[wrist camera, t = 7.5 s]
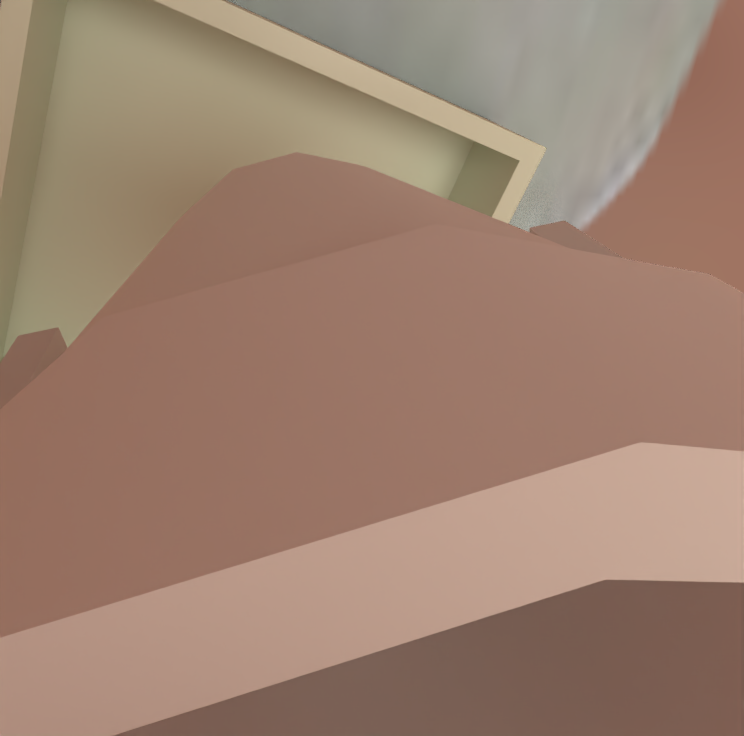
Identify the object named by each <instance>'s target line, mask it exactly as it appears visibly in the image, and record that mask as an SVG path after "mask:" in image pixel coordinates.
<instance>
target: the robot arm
mask: <svg viewBox="0 0 744 736" xmlns="http://www.w3.org/2000/svg"><path fill="white" fill-rule="evenodd" d="M530 233H532V234H535V235H537V236H540V237H542V238H545V239H547V240H550V241H552V242H555V243H557V244H560V245H562V246H565V247H567V248H570V249H575V250H581V251H586V252H592V253H597V254H603V255H608V256H613V257H619V258H622V257H621V256H619V255H617V254H615V253H614V252H613V251H611V250H610V249H608V248H607V247H605V246H603V245H602V244H600V243H599V242H597V241H596V240H594V239H593V238H591V237H589V236H588V235H586V234H585V233H583V232H582V231H580V230H579V229H577V228H575V227H574V226H572V225H571V224H569V223H568V222H566V221H560V222H555V223H551V224H546V225H541V226H536V227H532V228H530ZM67 348H68V347H67V345H66V343H65V341H64V338H63V336H62V334H61V332H60V330H59V327H57V328H52V329H47V330H42V331H38V332H33V333H28V334H23V335H19V336H17V338H16V339H15V341H14V343H13V344H12V346H11V347H10V349H9V350H8V352H7V353H6V355H5V357H4V358H3V360H2V361H1V363H0V409H1V408H2V407H3V406H5V405H6V404H7V403H8V402H9V401H10V400H11V399H12V398H14V397H15V396H16V395H17V394H18V393H19V392H20V391H21V390H22V389H24V388H25V387H26V386H27V385H28V384H29V383H30V382H31V381H32V380H34V379H35V378H36V377H37V376H38V375H39V374H40V373H41V372H43V371H44V370H45V369H46V368H47V367H48V366H49V365H50V364H51V363H53V362H54V361H55V360H56V359H57V358H58V357H59V356H60V355H62V354H63V353H64V352H65V350H66V349H67Z"/></svg>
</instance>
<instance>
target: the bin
mask: <svg viewBox="0 0 744 736" xmlns="http://www.w3.org/2000/svg"><path fill="white" fill-rule="evenodd" d="M546 149H547V148H545V147H543V146H541V145H539V144H537V143H535V142H533V141H531V140H529V139H527V138H525V137H523V136H521V135H519V134H517V133H515V132H513V131H510V130H508V129H506V128H504V127H502V126H500V125H498V124H496V123H494V122H492V121H490V120H488V119H486V118H483V117H481V116H479V115H477V114H475V113H472V112H470V111H468V110H466V109H464V108H461V107H459V106H457V105H455V104H453V103H450V102H448V101H446V100H444V99H442V98H439V97H437V96H435V95H433V94H431V93H429V92H426V91H424V90H422V89H420V88H418V87H415V86H413V85H411V84H409V83H407V82H404V81H402V80H400V79H398V78H396V77H393V76H391V75H389V74H387V73H385V72H383V71H380V70H378V69H376V68H374V67H372V66H369V65H367V64H365V63H363V62H361V61H358V60H356V59H354V58H352V57H350V56H347V55H345V54H343V53H341V52H339V51H336V50H334V49H332V48H330V47H328V46H326V45H323V44H321V43H319V42H317V41H315V40H312V39H310V38H308V37H306V36H304V35H301V34H299V33H297V32H295V31H293V30H290V29H288V28H286V27H284V26H282V25H279V24H277V23H275V22H273V21H271V20H269V19H266V18H264V17H262V16H260V15H258V14H255V13H253V12H251V11H249V10H247V9H244V8H242V7H240V6H238V5H236V4H233V3H231V2H229V1H227V0H2V2H1V9H0V363H1V361H2V360H3V358H4V357H5V355H6V353H7V352H8V350H9V349H10V347H11V346H12V344H13V343H14V341H15V339H16V338H17V336H19V335H23V334H28V333H33V332H38V331H42V330H47V329H52V328H57V327H59V330H60V332H61V334H62V336H63V338H64V341H65V343H66V345H67V347H69V346H70V345H71V344H72V342H73V341H74V340H75V339H76V338H77V337H78V335H79V334H80V333H81V332H82V331H83V330H84V328H85V327H86V326H87V325H88V324H89V323H90V322H91V320H92V319H93V318H94V317H95V316H96V315H97V313H98V312H99V311H100V310H101V309H102V308H103V306H104V305H105V304H106V303H107V302H108V301H109V300H110V298H111V297H112V296H113V295H114V294H115V293H116V291H117V290H118V289H119V288H120V287H121V286H122V284H123V283H124V282H125V281H126V280H127V279H128V278H129V276H130V275H131V274H132V273H133V272H134V271H135V269H136V268H137V267H138V266H139V265H140V264H141V262H142V261H143V260H144V259H145V258H146V257H147V256H148V254H149V253H150V252H151V251H152V250H153V249H154V247H155V246H156V245H157V244H158V243H159V242H160V240H161V239H162V238H163V237H164V236H165V235H166V234H167V232H168V231H169V230H170V229H171V228H172V227H173V225H174V224H175V223H176V222H177V221H178V220H179V218H180V217H182V216H183V215H184V214H185V213H186V212H187V211H188V210H189V209H190V208H191V207H192V206H193V205H194V204H195V203H197V202H198V201H199V200H200V199H201V198H202V197H203V196H204V195H205V194H206V193H208V192H209V191H210V190H211V189H212V188H213V187H214V186H215V185H216V184H218V183H219V182H220V181H221V180H222V179H223V178H224V177H225V176H226V175H227V174H229V173H230V172H231V171H232V170H233V169H236V168H239V167H243V166H247V165H251V164H254V163H258V162H262V161H265V160H269V159H273V158H276V157H280V156H284V155H288V154H291V153H295V152H299V153H304V154H309V155H314V156H318V157H323V158H328V159H333V160H338V161H343V162H348V163H353V164H358V165H360V166H365V167H368V168H371V169H373V170H376V171H378V172H380V173H383V174H385V175H388V176H390V177H393V178H395V179H398V180H400V181H403V182H405V183H408V184H410V185H413V186H415V187H418V188H420V189H423V190H425V191H428V192H430V193H433V194H435V195H438V196H440V197H443V198H445V199H448V200H450V201H453V202H455V203H458V204H460V205H463V206H465V207H468V208H470V209H473V210H475V211H478V212H480V213H483V214H485V215H488V216H490V217H493V218H495V219H498V220H500V221H503V222H505V223H508V224H509V222H510V220H511V218H512V216H513V214H514V212H515V210H516V208H517V206H518V204H519V202H520V200H521V198H522V196H523V194H524V192H525V190H526V188H527V186H528V184H529V182H530V180H531V178H532V177H533V175H534V173H535V171H536V169H537V167H538V165H539V163H540V161H541V159H542V157H543V155H544V153H545V151H546Z"/></svg>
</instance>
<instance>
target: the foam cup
mask: <svg viewBox="0 0 744 736" xmlns="http://www.w3.org/2000/svg"><path fill="white" fill-rule="evenodd" d="M0 736H744V293H743V292H741V291H739V290H738V289H736V288H734V287H732V286H730V285H729V284H727V283H725V282H723V281H721V280H720V279H718V278H716V277H714V276H712V275H711V274H706V273H700V272H695V271H690V270H685V269H679V268H674V267H668V266H663V265H657V264H652V263H646V262H640V261H635V260H630V259H624V258H619V257H613V256H608V255H603V254H597V253H592V252H586V251H581V250H575V249H570V248H567V247H565V246H562V245H560V244H557V243H555V242H552V241H550V240H547V239H545V238H542V237H540V236H537V235H535V234H532V233H530V232H527V231H525V230H522V229H520V228H517V227H515V226H512V225H510V224H508V223H505V222H503V221H500V220H498V219H495V218H493V217H490V216H488V215H485V214H483V213H480V212H478V211H475V210H473V209H470V208H468V207H465V206H463V205H460V204H458V203H455V202H453V201H450V200H448V199H445V198H443V197H440V196H438V195H435V194H433V193H430V192H428V191H425V190H423V189H420V188H418V187H415V186H413V185H410V184H408V183H405V182H403V181H400V180H398V179H395V178H393V177H390V176H388V175H385V174H383V173H380V172H378V171H376V170H373V169H371V168H368V167H365V166H360V165H358V164H353V163H348V162H343V161H338V160H333V159H328V158H323V157H318V156H314V155H309V154H304V153H299V152H295V153H291V154H288V155H284V156H280V157H276V158H273V159H269V160H265V161H262V162H258V163H254V164H251V165H247V166H243V167H239V168H236V169H233V170H232V171H231V172H230V173H229V174H227V175H226V176H225V177H224V178H223V179H222V180H221V181H220V182H219V183H218V184H216V185H215V186H214V187H213V188H212V189H211V190H210V191H209V192H208V193H206V194H205V195H204V196H203V197H202V198H201V199H200V200H199V201H198V202H197V203H195V204H194V205H193V206H192V207H191V208H190V209H189V210H188V211H187V212H186V213H185V214H184V215H183V216H182V217H180V218H179V220H178V221H177V222H176V223H175V224H174V225H173V227H172V228H171V229H170V230H169V231H168V232H167V234H166V235H165V236H164V237H163V238H162V239H161V240H160V242H159V243H158V244H157V245H156V246H155V247H154V249H153V250H152V251H151V252H150V253H149V254H148V256H147V257H146V258H145V259H144V260H143V261H142V262H141V264H140V265H139V266H138V267H137V268H136V269H135V271H134V272H133V273H132V274H131V275H130V276H129V278H128V279H127V280H126V281H125V282H124V283H123V284H122V286H121V287H120V288H119V289H118V290H117V291H116V293H115V294H114V295H113V296H112V297H111V298H110V300H109V301H108V302H107V303H106V304H105V305H104V306H103V308H102V309H101V310H100V311H99V312H98V313H97V315H96V316H95V317H94V318H93V319H92V320H91V322H90V323H89V324H88V325H87V326H86V327H85V328H84V330H83V331H82V332H81V333H80V334H79V335H78V337H77V338H76V339H75V340H74V341H73V342H72V344H71V345H70V346H69V347H68V348H67V349H66V350H65V352H64V353H63V354H62V355H60V356H59V357H58V358H57V359H56V360H55V361H54V362H53V363H51V364H50V365H49V366H48V367H47V368H46V369H45V370H44V371H43V372H41V373H40V374H39V375H38V376H37V377H36V378H35V379H34V380H32V381H31V382H30V383H29V384H28V385H27V386H26V387H25V388H24V389H22V390H21V391H20V392H19V393H18V394H17V395H16V396H15V397H14V398H12V399H11V400H10V401H9V402H8V403H7V404H6V405H5V406H3V407H2V408H1V409H0Z"/></svg>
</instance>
